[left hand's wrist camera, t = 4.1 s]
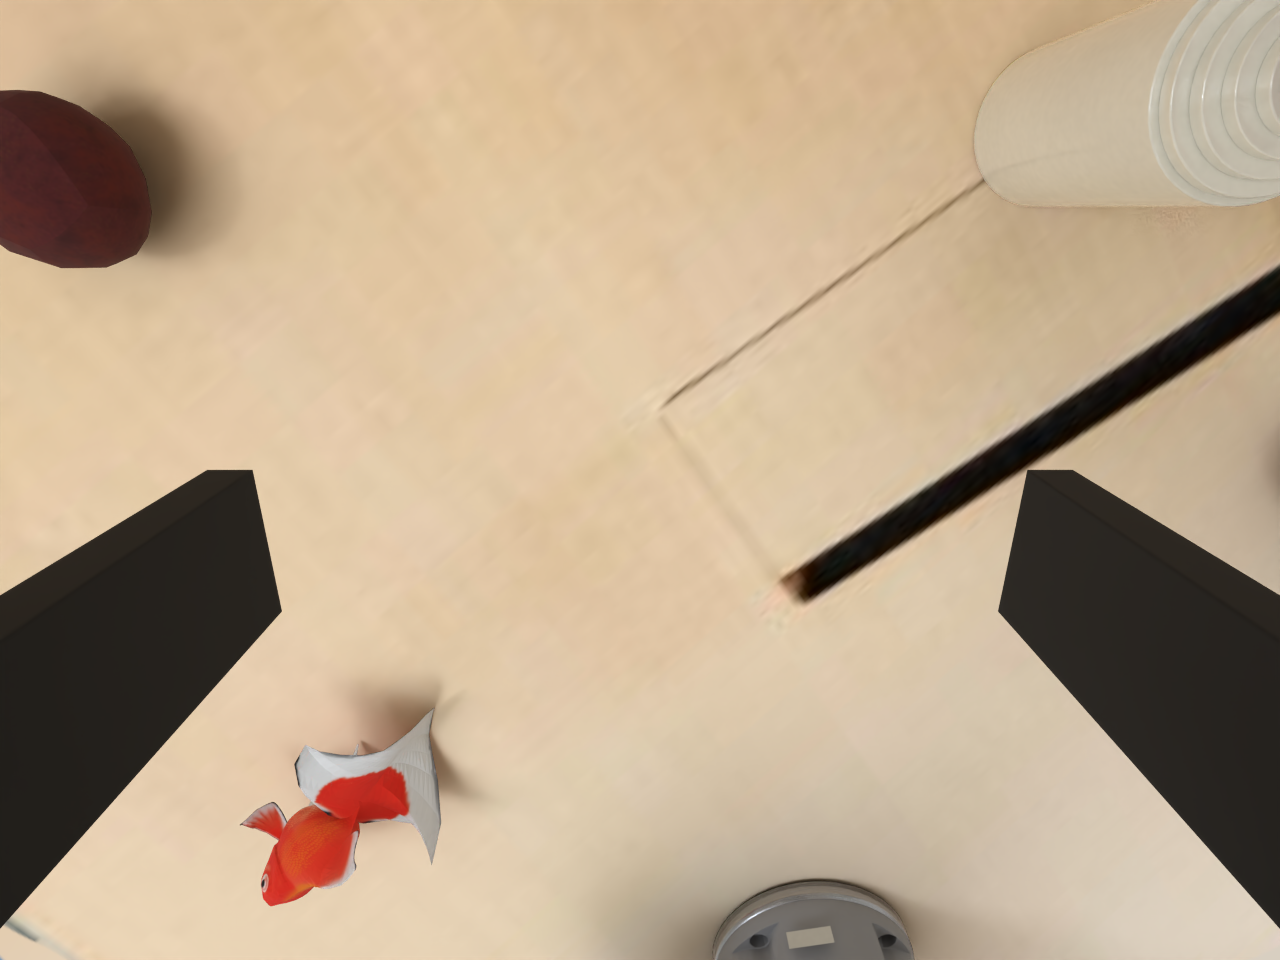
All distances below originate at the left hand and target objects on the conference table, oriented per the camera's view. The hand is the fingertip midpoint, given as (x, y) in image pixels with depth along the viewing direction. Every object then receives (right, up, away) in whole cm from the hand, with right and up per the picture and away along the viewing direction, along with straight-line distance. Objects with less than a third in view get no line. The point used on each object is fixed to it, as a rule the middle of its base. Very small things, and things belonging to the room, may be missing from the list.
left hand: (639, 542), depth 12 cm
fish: (-19, -18, +37) cm, 45 cm away
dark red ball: (-27, +16, +24) cm, 39 cm away
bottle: (+20, +19, +23) cm, 36 cm away
